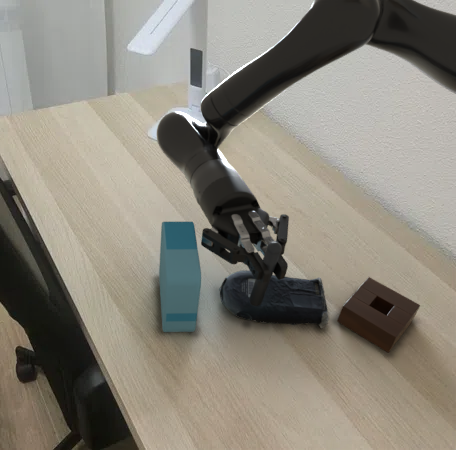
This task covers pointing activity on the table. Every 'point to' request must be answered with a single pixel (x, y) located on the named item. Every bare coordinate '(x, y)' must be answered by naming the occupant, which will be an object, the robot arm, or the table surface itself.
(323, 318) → the electronic device
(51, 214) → the table surface
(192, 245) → the data package
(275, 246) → the dark grey peg
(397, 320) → the pen stand
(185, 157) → the robot arm
